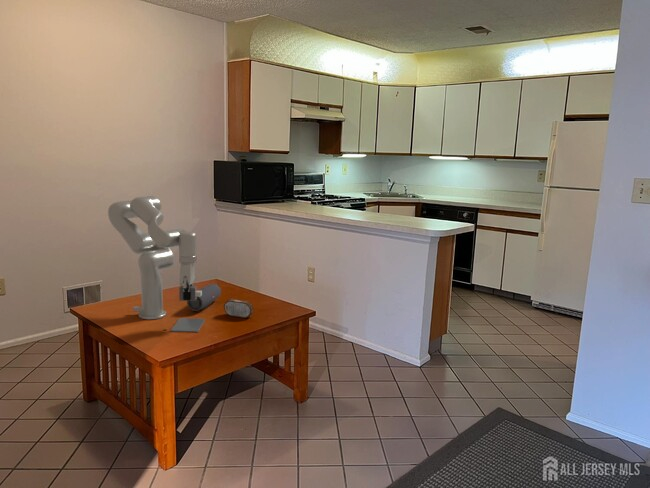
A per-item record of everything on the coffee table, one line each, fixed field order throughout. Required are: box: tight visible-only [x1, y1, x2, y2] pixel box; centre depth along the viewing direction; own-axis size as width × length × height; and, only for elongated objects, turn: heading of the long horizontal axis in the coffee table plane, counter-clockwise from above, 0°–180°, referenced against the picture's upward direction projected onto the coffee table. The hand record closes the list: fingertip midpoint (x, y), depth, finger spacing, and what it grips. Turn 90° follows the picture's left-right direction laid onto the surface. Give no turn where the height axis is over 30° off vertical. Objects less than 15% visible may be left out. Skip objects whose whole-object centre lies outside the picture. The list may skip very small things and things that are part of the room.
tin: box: [223, 298, 254, 319], centre depth 236 cm, size 15×3×8 cm, turn 74°
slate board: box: [170, 317, 206, 333], centre depth 221 cm, size 12×16×1 cm
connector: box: [178, 285, 202, 302], centre depth 219 cm, size 9×4×6 cm, turn 93°
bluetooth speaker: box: [186, 283, 222, 312], centre depth 249 cm, size 23×9×10 cm, turn 168°
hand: (188, 298), depth 219 cm, fingers closed on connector, 3 cm apart
